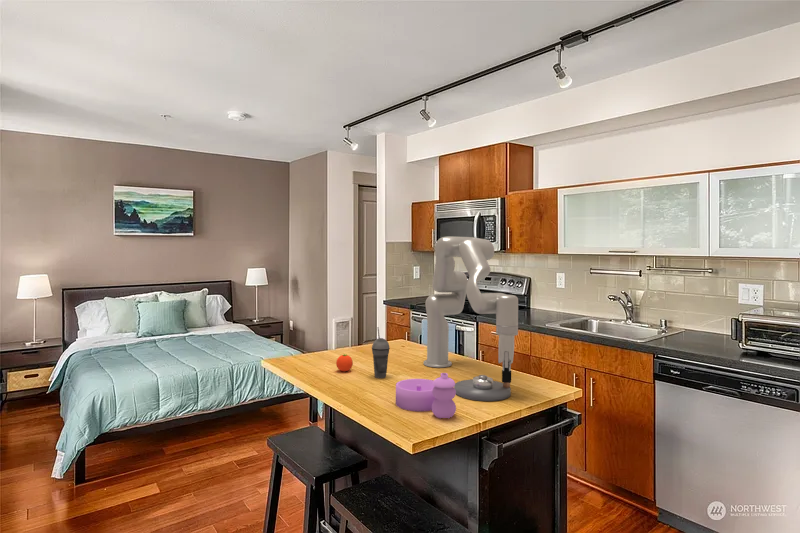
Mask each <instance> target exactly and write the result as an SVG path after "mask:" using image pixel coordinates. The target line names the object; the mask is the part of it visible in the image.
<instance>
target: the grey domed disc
mask: <svg viewBox="0 0 800 533" xmlns="http://www.w3.org/2000/svg"><path fill="white" fill-rule="evenodd" d="M454 388H455V390H456V396H458V397H460V398H463V399H467V400H472V401H479V402H480V401H481V402H494V401H495V402H497V401H503V400H507V399H509V398H511V393H512V392H511V390H512V388H511V383H506V382H502V381H497V380H493V388H492V389H490V390H479V389H475V388H474V387H473V378H471V379H464V380H459V381H456V382H455V386H454Z"/></svg>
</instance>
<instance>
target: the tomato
mask: <svg viewBox="0 0 800 533" xmlns="http://www.w3.org/2000/svg"><path fill="white" fill-rule="evenodd" d="M335 364H336V368H337V369H338V371H340V372H343V373H344V372H348V371H349V370H351V369H352V368H353V366H354V365H353V364H354V363H353V358H352V357H351V356H350V355H348V354H344V353H343V354H342V355H340V356H338V358H337V359H336V361H335Z"/></svg>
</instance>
